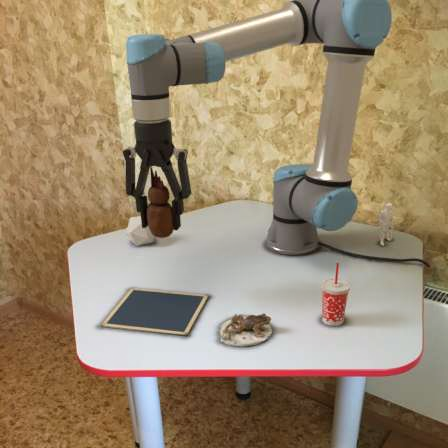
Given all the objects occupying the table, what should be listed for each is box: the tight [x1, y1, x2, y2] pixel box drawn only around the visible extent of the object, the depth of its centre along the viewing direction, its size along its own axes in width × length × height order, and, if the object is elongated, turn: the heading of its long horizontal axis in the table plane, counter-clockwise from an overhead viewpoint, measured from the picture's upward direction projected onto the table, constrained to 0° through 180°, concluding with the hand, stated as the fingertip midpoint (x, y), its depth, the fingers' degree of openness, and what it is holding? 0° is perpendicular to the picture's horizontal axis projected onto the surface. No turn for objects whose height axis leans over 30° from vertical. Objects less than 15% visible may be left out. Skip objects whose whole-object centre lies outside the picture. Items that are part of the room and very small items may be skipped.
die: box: [125, 215, 156, 247], centre depth 158 cm, size 8×9×10 cm
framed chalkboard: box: [100, 287, 210, 337], centre depth 124 cm, size 20×18×1 cm
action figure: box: [376, 202, 398, 247], centre depth 152 cm, size 6×4×12 cm, turn 123°
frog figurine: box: [219, 313, 273, 348], centre depth 115 cm, size 12×12×4 cm
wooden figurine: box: [147, 166, 175, 239], centre depth 116 cm, size 7×6×15 cm
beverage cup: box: [320, 262, 351, 327], centre depth 115 cm, size 6×6×14 cm
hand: (161, 226), depth 119 cm, fingers closed on wooden figurine, 7 cm apart
